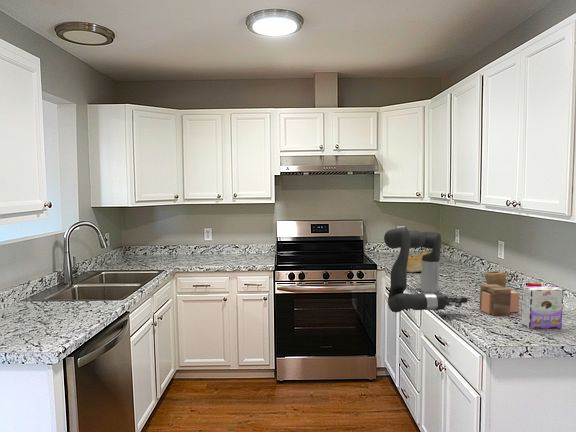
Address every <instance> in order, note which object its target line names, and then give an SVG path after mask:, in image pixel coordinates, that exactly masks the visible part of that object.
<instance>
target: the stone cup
mask: <svg viewBox="0 0 576 432" xmlns="http://www.w3.org/2000/svg"><path fill="white" fill-rule="evenodd" d="M484 279H485V282H486V284H497V285H500V286H503V287H506V285H507V275H506V272H505V271H500V270H493V271H491V270H490V271H486V272H485V274H484Z"/></svg>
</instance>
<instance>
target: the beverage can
mask: <svg viewBox="0 0 576 432" xmlns="http://www.w3.org/2000/svg"><path fill="white" fill-rule="evenodd" d="M526 287H543V286H542V283H541V282H539V281H535V280H534V281H533V280H529V281H528V282H527V284H526Z"/></svg>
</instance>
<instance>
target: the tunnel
mask: <svg viewBox="0 0 576 432" xmlns="http://www.w3.org/2000/svg"><path fill="white" fill-rule="evenodd" d="M511 290H512V289H511V288H509V287H506V286H505V287H503V286H500V285H497V284H487V283H485V284H480V290H479V294H480V295H479V311H481V302H482V292H485V291H488V292H491V293H492V311H491V314H490V315H492V316H493V317H495V316H496V317H501V316H511V312H510V301H511Z"/></svg>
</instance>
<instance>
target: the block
mask: <svg viewBox="0 0 576 432" xmlns="http://www.w3.org/2000/svg"><path fill="white" fill-rule="evenodd" d="M520 295H521V294H520V292H519V291H516V290H512V289H511V301H510V313H519V312H520V311H519V310H520V309H519V308H520ZM480 311H482V312H484V313H486V314H488V315H491V311H492V293H491V292H488V291H485V292H482V302H481V310H480Z"/></svg>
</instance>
